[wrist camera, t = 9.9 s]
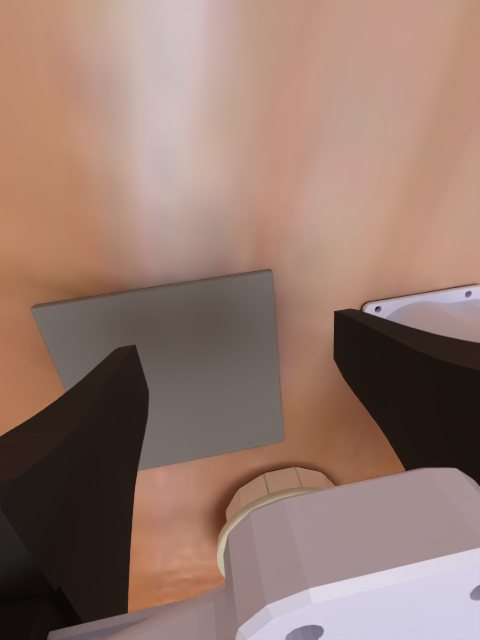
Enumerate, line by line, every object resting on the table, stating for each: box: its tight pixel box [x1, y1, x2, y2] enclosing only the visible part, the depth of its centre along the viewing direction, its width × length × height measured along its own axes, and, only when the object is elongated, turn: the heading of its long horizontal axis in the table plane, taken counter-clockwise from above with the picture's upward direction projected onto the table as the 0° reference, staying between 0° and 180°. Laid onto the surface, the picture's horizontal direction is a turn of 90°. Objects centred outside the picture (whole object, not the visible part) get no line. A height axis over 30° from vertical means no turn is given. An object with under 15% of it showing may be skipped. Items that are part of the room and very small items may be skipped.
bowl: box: [226, 467, 335, 521], centre depth 31 cm, size 11×11×3 cm
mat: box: [31, 269, 284, 471], centre depth 24 cm, size 15×15×1 cm
